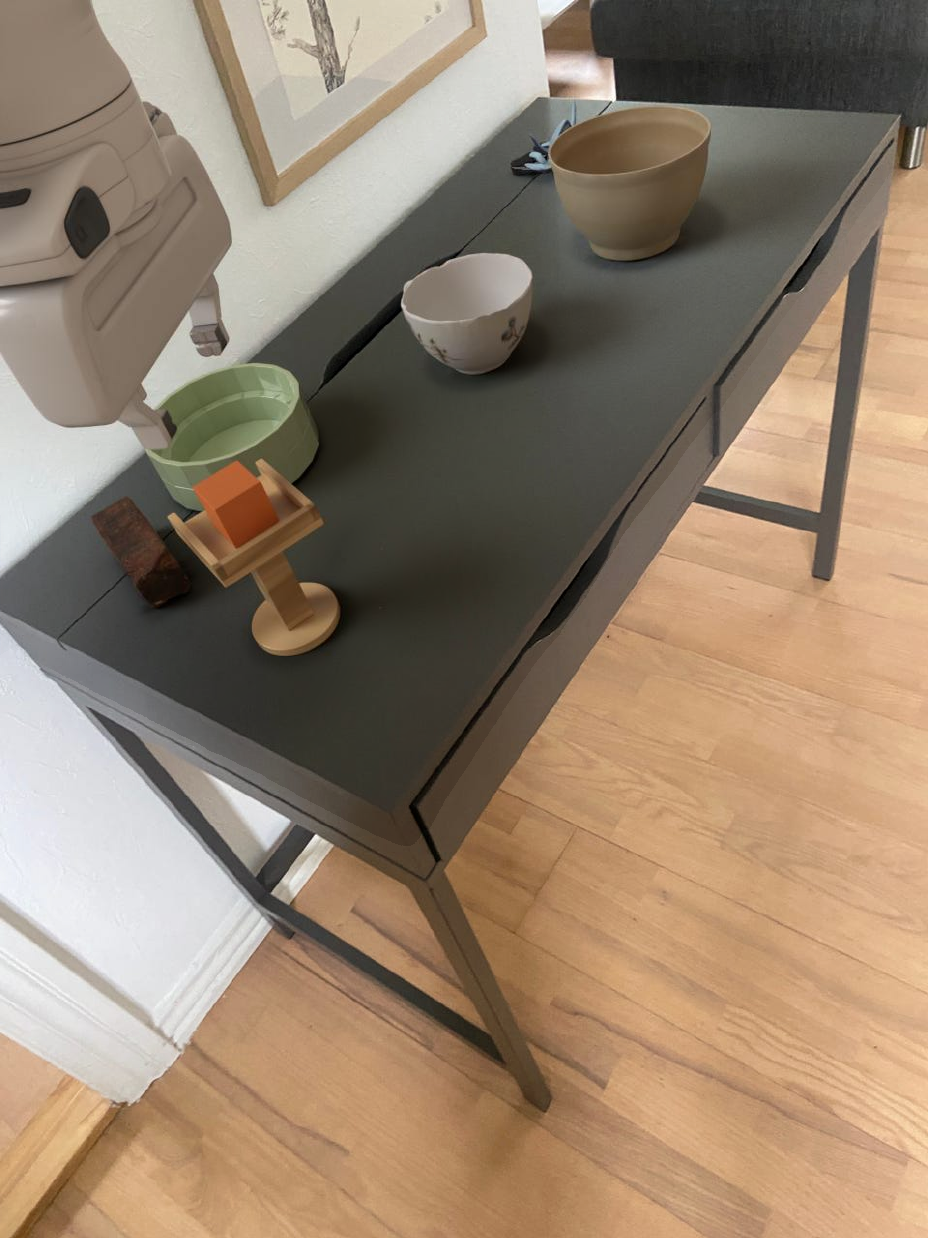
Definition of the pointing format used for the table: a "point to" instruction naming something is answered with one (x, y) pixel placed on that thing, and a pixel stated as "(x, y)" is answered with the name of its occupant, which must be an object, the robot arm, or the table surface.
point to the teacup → (470, 310)
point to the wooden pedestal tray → (271, 569)
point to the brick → (141, 552)
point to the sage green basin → (235, 428)
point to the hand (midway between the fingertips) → (190, 393)
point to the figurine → (542, 150)
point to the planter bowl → (632, 177)
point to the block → (236, 503)
